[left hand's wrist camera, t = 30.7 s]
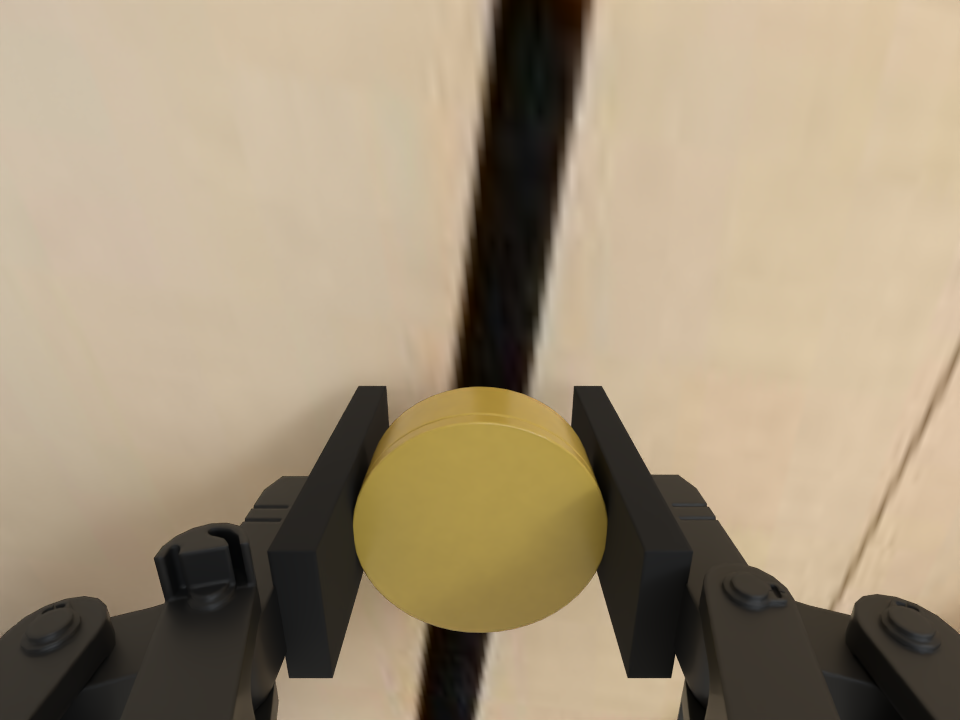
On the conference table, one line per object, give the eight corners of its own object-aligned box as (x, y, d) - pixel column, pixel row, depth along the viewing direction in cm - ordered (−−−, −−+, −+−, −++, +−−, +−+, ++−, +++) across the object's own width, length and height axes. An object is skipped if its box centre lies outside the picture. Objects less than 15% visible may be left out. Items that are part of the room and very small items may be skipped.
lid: (610, 397, 11) (632, 436, 10) (571, 583, 13) (584, 642, 12) (372, 374, 11) (354, 410, 10) (365, 566, 13) (349, 623, 11)
